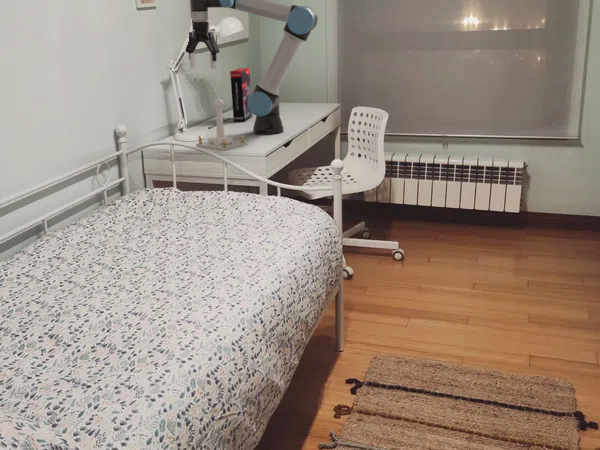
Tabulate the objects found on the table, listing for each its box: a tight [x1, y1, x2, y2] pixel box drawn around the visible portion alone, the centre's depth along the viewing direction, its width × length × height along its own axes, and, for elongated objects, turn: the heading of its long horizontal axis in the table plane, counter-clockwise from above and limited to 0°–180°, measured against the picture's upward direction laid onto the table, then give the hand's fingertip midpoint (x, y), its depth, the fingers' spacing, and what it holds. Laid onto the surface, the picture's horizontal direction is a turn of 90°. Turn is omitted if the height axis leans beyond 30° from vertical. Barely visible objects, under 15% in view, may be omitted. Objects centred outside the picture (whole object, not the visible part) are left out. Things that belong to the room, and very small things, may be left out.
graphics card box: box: [229, 67, 254, 123], centre depth 379 cm, size 17×7×27 cm, turn 168°
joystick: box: [207, 98, 234, 145], centre depth 311 cm, size 11×8×20 cm
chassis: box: [195, 134, 249, 152], centre depth 315 cm, size 16×17×5 cm
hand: (203, 68), depth 328 cm, fingers open, 13 cm apart
